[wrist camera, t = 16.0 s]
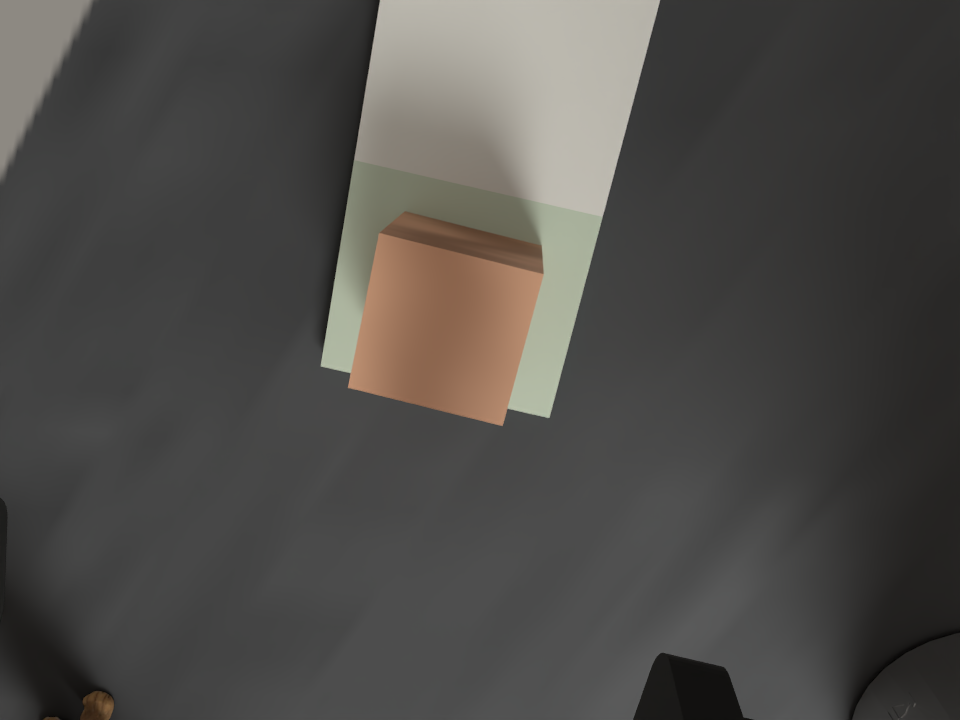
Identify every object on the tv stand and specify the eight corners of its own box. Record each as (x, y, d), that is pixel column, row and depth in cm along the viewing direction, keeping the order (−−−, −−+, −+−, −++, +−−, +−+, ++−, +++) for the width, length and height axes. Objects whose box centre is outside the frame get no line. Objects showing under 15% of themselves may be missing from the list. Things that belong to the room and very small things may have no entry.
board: (661, -19, 24) (666, -23, 23) (548, 409, 28) (549, 417, 27) (398, -80, 23) (394, -86, 23) (326, 359, 28) (320, 366, 27)
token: (541, 245, 25) (543, 274, 21) (507, 374, 27) (502, 426, 22) (404, 211, 25) (379, 232, 21) (377, 342, 27) (347, 387, 22)
